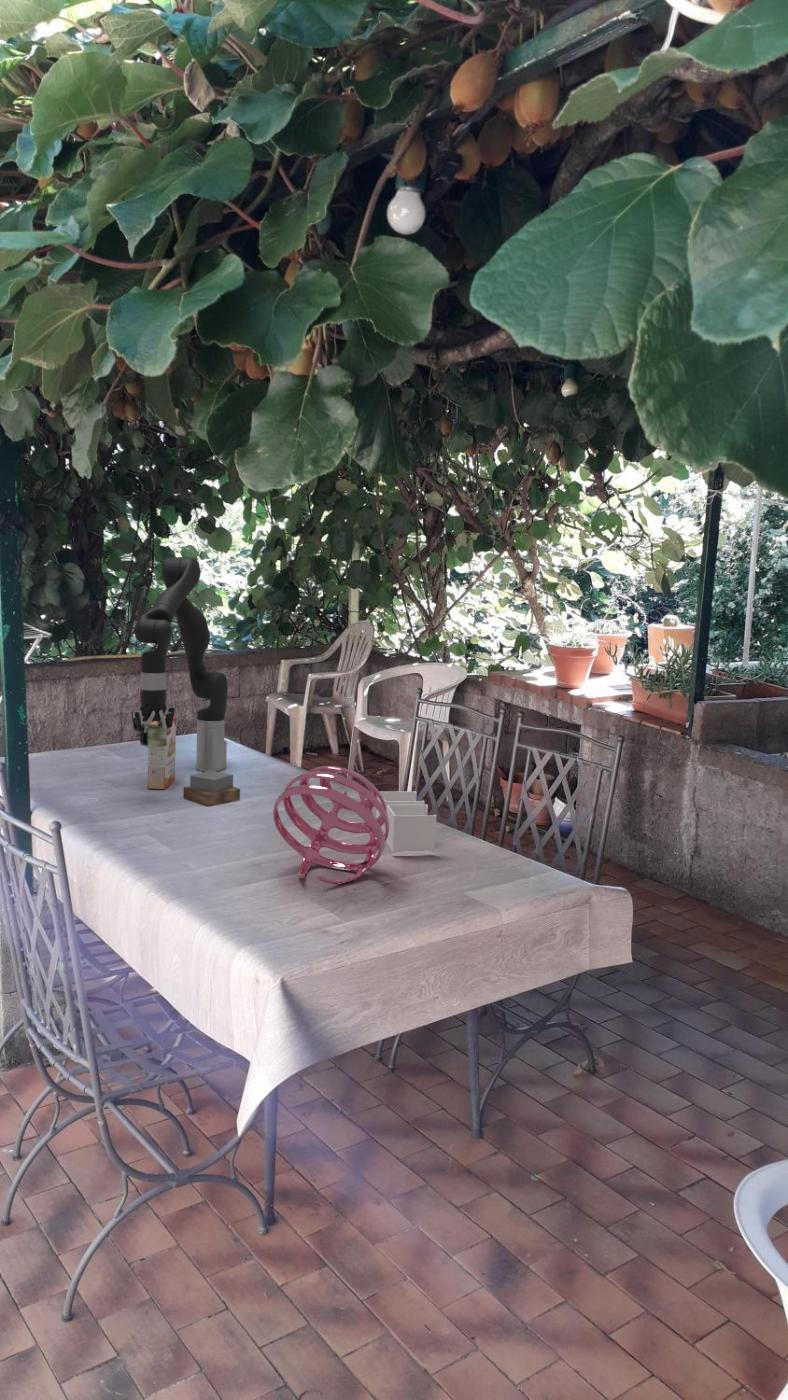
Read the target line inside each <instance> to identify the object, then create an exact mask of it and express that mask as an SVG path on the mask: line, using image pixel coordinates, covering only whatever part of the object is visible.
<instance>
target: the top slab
mask: <svg viewBox="0 0 788 1400" xmlns="http://www.w3.org/2000/svg"><path fill="white" fill-rule="evenodd" d="M189 778H190V782H189V784H190V785H189V786H190V789H195V790H200V791H205V792H210V793H216V792H220V791H223V790H227V789H230V788H233V787H234V774H231V773H225V772H221V771H211V770H210V771H201V772H199V773H195V774H192V775H190V777H189Z"/></svg>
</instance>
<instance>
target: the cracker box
mask: <svg viewBox="0 0 788 1400" xmlns="http://www.w3.org/2000/svg"><path fill="white" fill-rule="evenodd" d="M164 718H165V716H164ZM151 725H158V723H157V722H156V721H154V722H151ZM176 737H177V717H175V716H174V718H173V724H172V727H171V728H170V727H169V728H168V729H167V746H162V747H155V748H148V747H147V748H148V749H147V752H148V753H147V790H148V789H150V790H161V789H164V790H166V789H167V788H168V787H169V786H170V785H171V784H172V783H173V782H174V781H175V780H176V778H175V777H176V745H177V742H176V741H177V738H176Z"/></svg>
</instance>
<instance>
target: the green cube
mask: <svg viewBox="0 0 788 1400" xmlns="http://www.w3.org/2000/svg"><path fill="white" fill-rule="evenodd" d="M147 733H148V744H147V745H142V743H141V742H140V741H139V745H140V746H143V747H145V748H155V747H162V746H167V728H166V727H162V726H158V725H150V726H149V728H148V731H147Z"/></svg>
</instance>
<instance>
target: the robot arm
mask: <svg viewBox="0 0 788 1400" xmlns="http://www.w3.org/2000/svg"><path fill="white" fill-rule="evenodd" d="M161 575H162V580H163V583H164V585H165V588H166V589H165V590H163V591H162V592H161V593H160V594H159V595H158V596H157V597H156V599H155V600H154V602H153V604H152V606H151V607H150V608H151V609H149V610H148V611H147V612H145V614H143V615H142V616H141V617H140V618H139V619H138V621H136V623H135V626H134V630H133V631H134V633H133V634H134V638H136V640H137V641H138V642H139V643H143V644H153V645H154V644H155V645H156V644H157V646H156V648H155V650H154V649H153V650H149V651H145V652H142V654H141V657H140V677H139V691H140V693H139V697H140V699H139V701H140V705H141V706H140V708H139V710H135V711H134V710H132V711H131V713H130V715H131V720H132V725H133V731H136V732H138V733H139V743H140V742H141V743H142V745H147V744H148V733H147V731H148V728H149V726H150V725H151V722H154V721H156V722H157V723H158V726H162V727H166V728H167V729H168V728H169V727H170V728H171V727H172V724H173V718H174V717H175V711H176V710H175V707H171V706H167V705H166V703H167V673H166V671H167V669H166V666H167V664H166V663H167V661H166V660H167V655H168V649H169V646H170V642H171V639H172V635H173V627H172V625H171V623H172V622H173V619H174V618H175V617H176V621H177V622H176V623H177V626H178V631H179V635H180V638H181V642H182V645H183V648H184V652H185V658H186V661H187V665H188V671H189V672H188V673H189V678H190V686H191V689H192V692H193V694H194V695H195V696H196V698H200V699H204V700H206V699H207V700H209V702H210V703H209V706H207V707H204V708H201V709H199V710H197V712H196V764H195V765H196V767H195V768H196V770H198V771H200V772H206V771H210V770H211V771H216V772H221V771H223V770H225V769H227V748H228V744H227V742H228V741H227V740H225V719H226V718H225V717H226V712H227V711H226V710H227V703H228V689H229V687H228V685H229V684H228V678H227V676H226V675H225V674H224V673H222V672H219V671H218V672H217V671H210V670H209V671H207V670H206V668H205V663H204V655H205V653H206V651H207V648H208V646H209V643H210V640H211V635H210V630H209V626H208V621H207V618H206V616H205V615H204V614H203V612H201V610H199V608H198V607H197V606H196V605H195V604H193V603H192V601H191V600H190V599H189V598H188V596H189V594H190V593H191V592H192V590H194V588H195V587H196V585H197V584H198V583H199V580H200V578H201V567H200V563H199V561H198V560H197V558H196V557H193V556H178V557H167V558H164V560H162V563H161ZM164 717H165V718H164ZM142 745H141V746H142Z"/></svg>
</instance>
